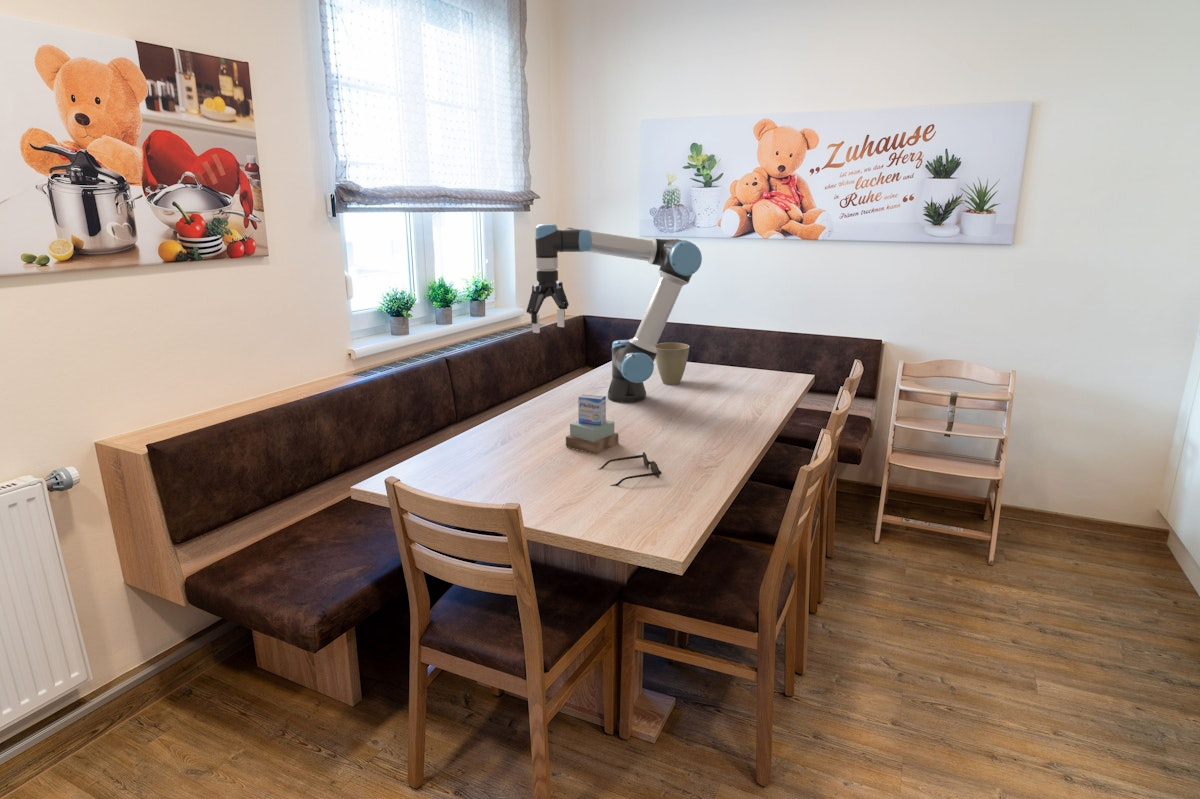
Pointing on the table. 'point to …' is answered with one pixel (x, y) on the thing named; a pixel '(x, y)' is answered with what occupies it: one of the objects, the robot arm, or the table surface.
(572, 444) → the walnut slab
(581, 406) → the medicine box
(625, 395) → the robot arm
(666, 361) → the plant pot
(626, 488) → the table surface
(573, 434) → the sage slab
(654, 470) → the eyeglasses
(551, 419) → the table surface
